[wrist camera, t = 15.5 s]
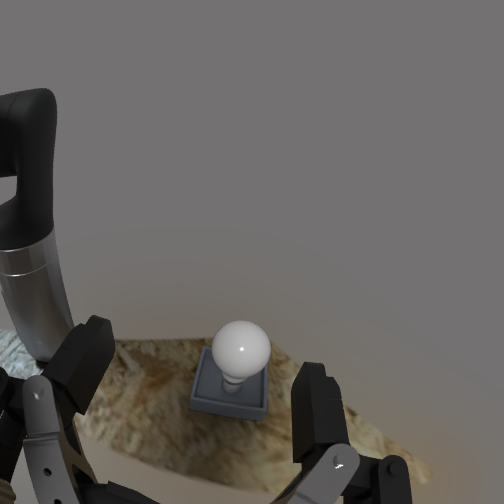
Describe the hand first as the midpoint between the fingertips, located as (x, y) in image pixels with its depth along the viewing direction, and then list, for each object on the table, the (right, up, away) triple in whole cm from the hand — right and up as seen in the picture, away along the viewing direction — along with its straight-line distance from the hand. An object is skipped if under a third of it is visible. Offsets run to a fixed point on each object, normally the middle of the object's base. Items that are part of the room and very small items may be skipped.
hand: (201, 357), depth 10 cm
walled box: (-1, -13, +22) cm, 26 cm away
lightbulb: (-1, -13, +22) cm, 25 cm away
